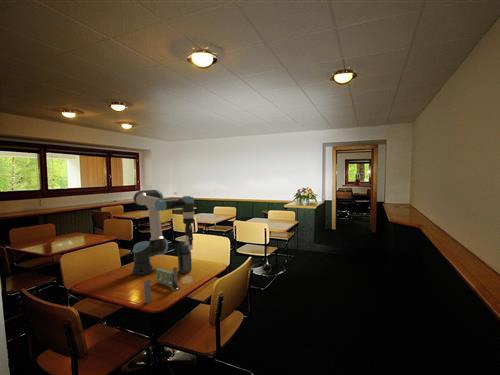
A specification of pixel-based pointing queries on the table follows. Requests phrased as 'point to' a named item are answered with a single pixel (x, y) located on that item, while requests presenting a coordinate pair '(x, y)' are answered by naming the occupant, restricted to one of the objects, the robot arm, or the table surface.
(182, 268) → the beverage bottle
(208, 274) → the table surface
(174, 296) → the table surface
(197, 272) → the table surface
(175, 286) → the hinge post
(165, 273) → the gate
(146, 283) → the post
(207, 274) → the table surface
